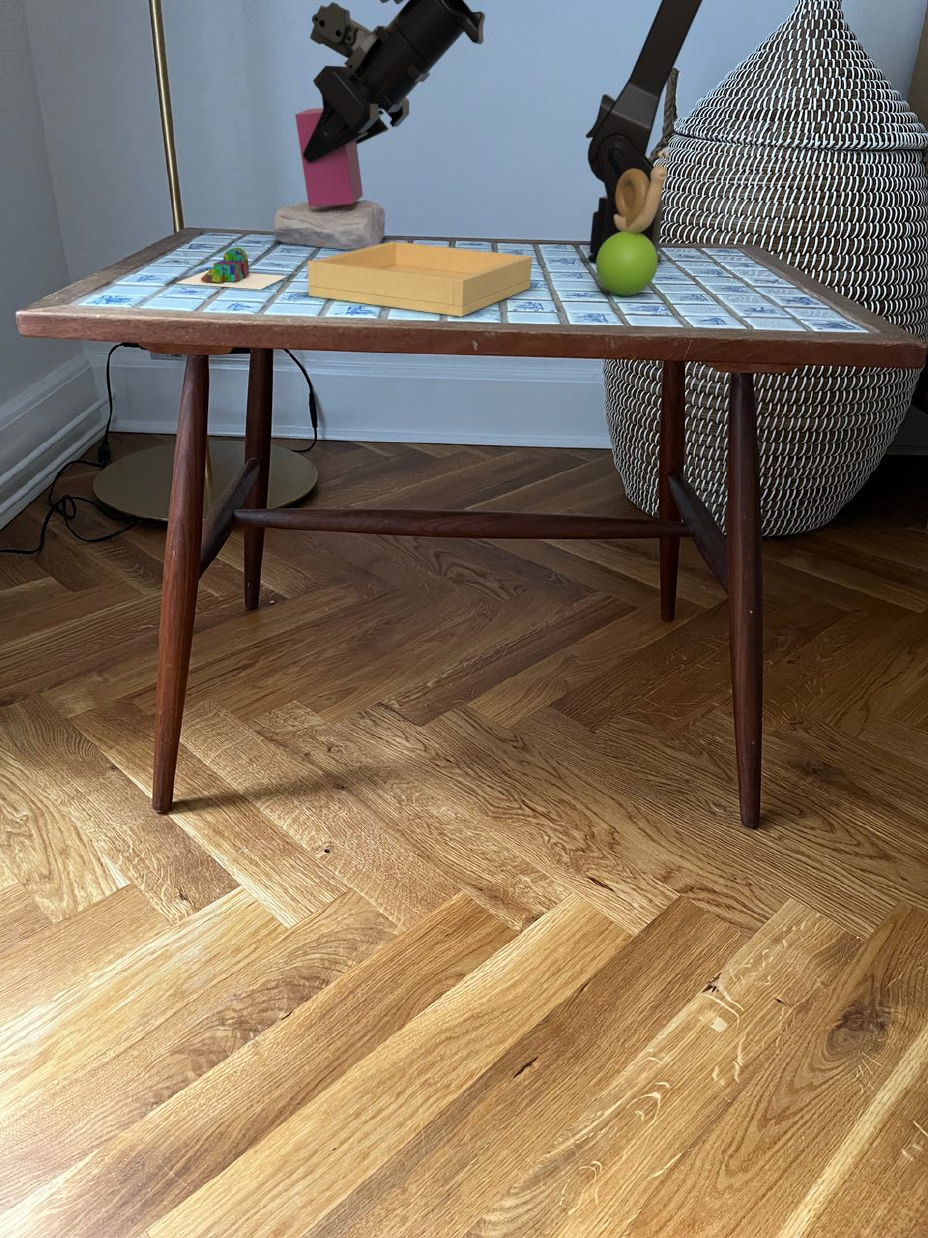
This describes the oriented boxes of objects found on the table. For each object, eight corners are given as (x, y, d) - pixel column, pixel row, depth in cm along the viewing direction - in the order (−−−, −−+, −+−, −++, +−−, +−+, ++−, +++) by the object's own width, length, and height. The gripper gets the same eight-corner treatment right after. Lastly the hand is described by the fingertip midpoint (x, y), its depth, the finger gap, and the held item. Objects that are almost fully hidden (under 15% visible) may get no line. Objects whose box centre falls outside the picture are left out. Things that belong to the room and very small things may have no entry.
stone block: (374, 267, 104) (389, 235, 112) (370, 222, 101) (386, 192, 109) (269, 265, 105) (290, 234, 113) (262, 221, 102) (284, 191, 110)
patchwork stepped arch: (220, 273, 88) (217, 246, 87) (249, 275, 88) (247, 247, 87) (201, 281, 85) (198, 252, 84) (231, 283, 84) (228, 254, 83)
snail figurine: (622, 305, 82) (639, 150, 76) (581, 291, 87) (594, 145, 81) (672, 301, 85) (692, 151, 79) (629, 287, 90) (645, 145, 84)
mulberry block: (363, 195, 107) (352, 105, 102) (353, 204, 103) (341, 110, 98) (320, 198, 108) (307, 108, 103) (308, 206, 104) (294, 114, 99)
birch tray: (530, 288, 88) (532, 256, 86) (461, 316, 76) (462, 280, 75) (392, 271, 93) (391, 240, 92) (308, 295, 81) (306, 261, 80)
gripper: (380, -18, 103) (288, 94, 109) (331, -37, 87) (226, 96, 93) (450, 69, 105) (356, 173, 112) (414, 66, 89) (307, 188, 96)
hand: (313, 157), depth 104 cm, fingers closed on mulberry block, 5 cm apart
